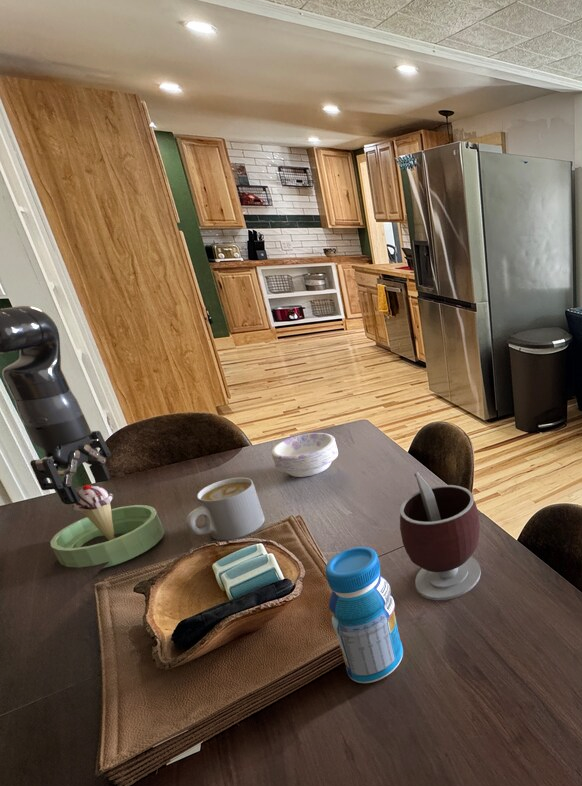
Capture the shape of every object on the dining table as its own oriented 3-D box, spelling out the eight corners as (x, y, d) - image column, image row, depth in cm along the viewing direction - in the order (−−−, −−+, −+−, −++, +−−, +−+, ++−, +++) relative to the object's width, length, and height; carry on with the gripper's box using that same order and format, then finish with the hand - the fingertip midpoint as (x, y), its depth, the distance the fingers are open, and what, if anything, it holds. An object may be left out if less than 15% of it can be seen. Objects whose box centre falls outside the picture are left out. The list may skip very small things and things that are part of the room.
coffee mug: (254, 509, 114) (242, 473, 110) (272, 523, 109) (260, 486, 105) (185, 537, 104) (169, 498, 100) (201, 554, 98) (185, 514, 95)
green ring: (41, 581, 91) (27, 555, 89) (98, 533, 105) (87, 510, 103) (138, 567, 95) (126, 543, 92) (180, 523, 109) (171, 501, 106)
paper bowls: (285, 489, 122) (277, 462, 119) (273, 468, 133) (265, 442, 130) (347, 470, 132) (341, 444, 129) (332, 451, 142) (326, 427, 139)
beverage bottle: (370, 695, 69) (342, 589, 62) (334, 671, 73) (304, 568, 65) (416, 653, 76) (396, 553, 69) (381, 632, 80) (358, 535, 72)
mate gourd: (498, 578, 92) (489, 490, 85) (430, 615, 84) (413, 521, 76) (460, 542, 103) (449, 460, 95) (396, 571, 94) (378, 484, 86)
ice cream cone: (89, 552, 98) (57, 490, 92) (120, 536, 103) (92, 476, 97) (109, 557, 96) (78, 494, 91) (140, 540, 101) (113, 479, 96)
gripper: (58, 405, 94) (91, 476, 100) (-7, 434, 81) (36, 514, 87) (104, 402, 95) (134, 472, 102) (48, 430, 83) (85, 508, 89)
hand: (88, 491), depth 94 cm, fingers open, 8 cm apart
